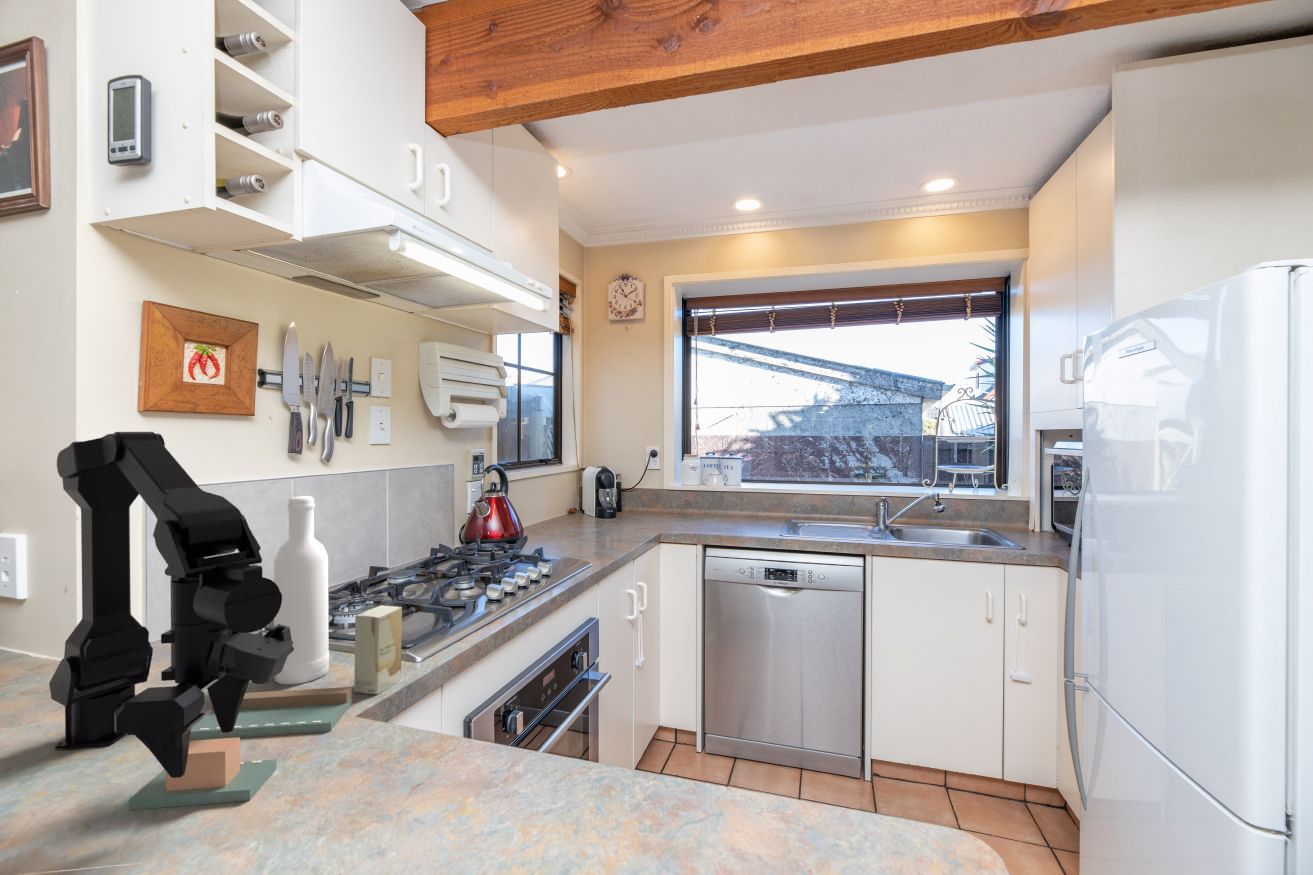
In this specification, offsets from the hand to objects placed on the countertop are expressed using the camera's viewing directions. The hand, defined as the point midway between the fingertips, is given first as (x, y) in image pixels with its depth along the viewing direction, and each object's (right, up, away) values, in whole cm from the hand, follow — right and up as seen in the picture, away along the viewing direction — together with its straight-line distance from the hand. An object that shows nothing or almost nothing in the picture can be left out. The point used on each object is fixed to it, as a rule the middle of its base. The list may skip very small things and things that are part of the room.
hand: (204, 752), depth 67 cm
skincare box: (+7, -4, +28) cm, 29 cm away
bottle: (-8, -4, +32) cm, 33 cm away
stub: (0, -5, +1) cm, 5 cm away
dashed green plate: (-3, -4, +16) cm, 17 cm away
